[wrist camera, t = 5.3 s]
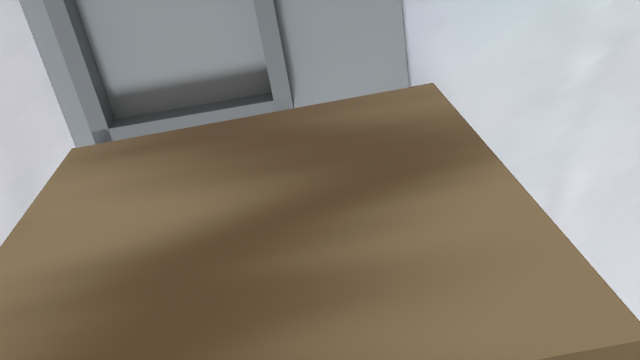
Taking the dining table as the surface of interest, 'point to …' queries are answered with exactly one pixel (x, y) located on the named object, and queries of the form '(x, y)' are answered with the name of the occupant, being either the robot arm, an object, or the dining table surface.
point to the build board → (210, 59)
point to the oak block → (302, 247)
